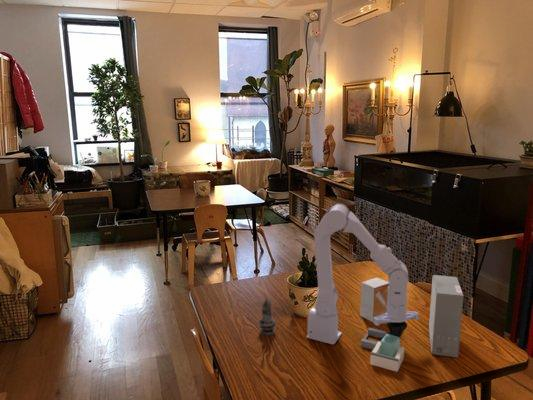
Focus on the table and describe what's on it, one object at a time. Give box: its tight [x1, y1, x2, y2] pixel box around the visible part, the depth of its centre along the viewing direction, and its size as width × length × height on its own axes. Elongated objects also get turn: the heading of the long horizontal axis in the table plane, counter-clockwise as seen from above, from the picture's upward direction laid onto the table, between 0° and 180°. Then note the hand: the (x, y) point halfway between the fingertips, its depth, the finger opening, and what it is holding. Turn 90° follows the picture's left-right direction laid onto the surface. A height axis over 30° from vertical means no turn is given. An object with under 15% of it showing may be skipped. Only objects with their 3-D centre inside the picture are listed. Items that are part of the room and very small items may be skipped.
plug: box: [380, 333, 401, 358], centre depth 130 cm, size 5×4×5 cm
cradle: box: [359, 327, 387, 351], centre depth 136 cm, size 9×6×2 cm
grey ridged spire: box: [257, 298, 277, 336], centre depth 143 cm, size 6×6×12 cm
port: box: [369, 340, 405, 372], centre depth 126 cm, size 8×8×4 cm
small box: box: [359, 277, 389, 323], centre depth 152 cm, size 8×6×13 cm
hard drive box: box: [428, 274, 465, 358], centre depth 133 cm, size 16×8×20 cm, turn 163°
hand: (395, 342), depth 134 cm, fingers closed
